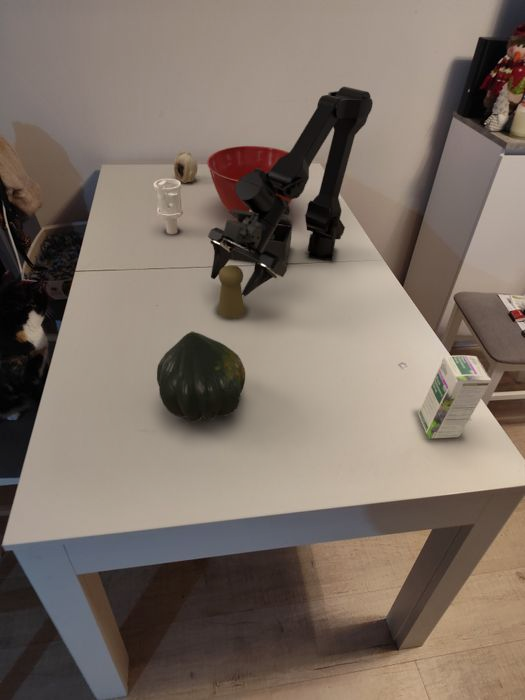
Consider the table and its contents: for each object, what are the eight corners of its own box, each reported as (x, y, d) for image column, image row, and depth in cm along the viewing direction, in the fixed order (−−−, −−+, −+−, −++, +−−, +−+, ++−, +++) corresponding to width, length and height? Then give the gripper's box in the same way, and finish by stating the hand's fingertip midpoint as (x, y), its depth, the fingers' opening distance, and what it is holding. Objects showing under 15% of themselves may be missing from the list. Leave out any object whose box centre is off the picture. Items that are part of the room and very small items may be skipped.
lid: (288, 220, 107) (291, 200, 107) (230, 212, 109) (232, 193, 109) (292, 226, 118) (295, 208, 117) (238, 218, 119) (241, 201, 119)
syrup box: (416, 413, 80) (441, 354, 71) (447, 412, 81) (477, 354, 71) (427, 439, 76) (456, 380, 66) (460, 438, 77) (493, 379, 67)
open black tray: (283, 267, 115) (286, 243, 111) (229, 258, 117) (229, 235, 113) (290, 249, 122) (292, 226, 118) (238, 241, 124) (238, 219, 120)
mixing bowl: (319, 220, 136) (326, 169, 126) (240, 243, 124) (241, 189, 113) (266, 187, 153) (269, 140, 143) (192, 205, 140) (189, 154, 130)
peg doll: (240, 320, 98) (241, 278, 91) (214, 316, 99) (213, 274, 91) (247, 305, 102) (248, 263, 95) (221, 301, 103) (220, 259, 96)
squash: (229, 433, 69) (241, 336, 68) (137, 419, 70) (148, 325, 70) (244, 419, 83) (254, 339, 83) (168, 408, 85) (177, 330, 84)
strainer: (154, 234, 125) (147, 181, 115) (167, 223, 130) (162, 172, 120) (176, 239, 124) (171, 186, 114) (189, 229, 128) (185, 177, 118)
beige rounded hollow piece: (177, 183, 158) (171, 153, 154) (201, 179, 158) (195, 149, 154) (174, 185, 149) (167, 153, 145) (199, 181, 149) (193, 149, 145)
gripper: (212, 190, 91) (176, 257, 92) (283, 220, 83) (242, 293, 84) (238, 214, 101) (204, 274, 102) (303, 243, 93) (266, 308, 94)
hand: (227, 286), depth 95 cm, fingers open, 9 cm apart
